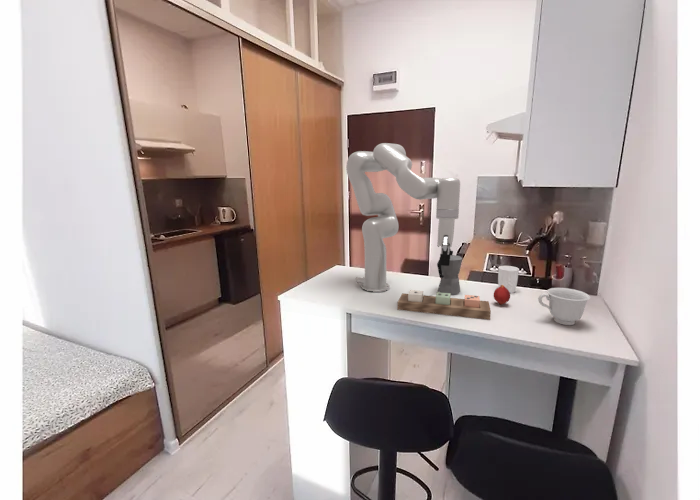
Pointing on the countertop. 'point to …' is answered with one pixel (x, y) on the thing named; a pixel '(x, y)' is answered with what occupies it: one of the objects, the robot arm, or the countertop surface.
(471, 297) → the button three
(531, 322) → the countertop surface
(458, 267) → the coffeepot
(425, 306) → the button panel
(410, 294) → the button one
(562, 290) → the teacup
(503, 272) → the white cup
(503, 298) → the pomegranate
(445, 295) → the button two
